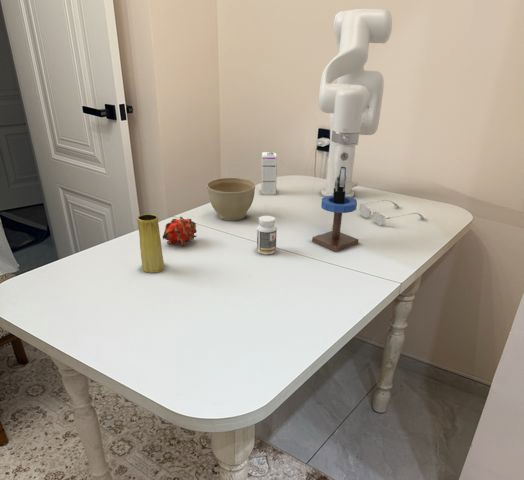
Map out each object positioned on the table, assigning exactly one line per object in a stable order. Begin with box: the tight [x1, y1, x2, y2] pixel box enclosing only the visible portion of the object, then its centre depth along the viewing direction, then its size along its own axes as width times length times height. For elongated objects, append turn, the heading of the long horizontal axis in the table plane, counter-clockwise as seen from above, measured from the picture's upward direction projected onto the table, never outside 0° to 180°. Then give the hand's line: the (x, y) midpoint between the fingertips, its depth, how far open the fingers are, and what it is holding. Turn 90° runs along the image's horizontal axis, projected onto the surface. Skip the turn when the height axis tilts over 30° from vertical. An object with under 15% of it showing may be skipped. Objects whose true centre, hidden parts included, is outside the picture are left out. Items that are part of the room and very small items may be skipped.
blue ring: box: [320, 195, 358, 214], centre depth 145 cm, size 10×10×2 cm
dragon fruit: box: [162, 216, 198, 247], centre depth 147 cm, size 8×8×12 cm
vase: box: [136, 213, 166, 274], centre depth 131 cm, size 6×6×14 cm
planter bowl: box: [206, 177, 256, 221], centre depth 167 cm, size 16×16×11 cm
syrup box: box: [260, 151, 278, 196], centre depth 189 cm, size 6×6×14 cm
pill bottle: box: [256, 215, 277, 255], centre depth 143 cm, size 6×6×10 cm
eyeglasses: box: [358, 199, 425, 226], centre depth 171 cm, size 15×18×4 cm
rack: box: [311, 212, 359, 253], centre depth 149 cm, size 10×10×12 cm
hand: (338, 202), depth 149 cm, fingers closed on blue ring, 2 cm apart
